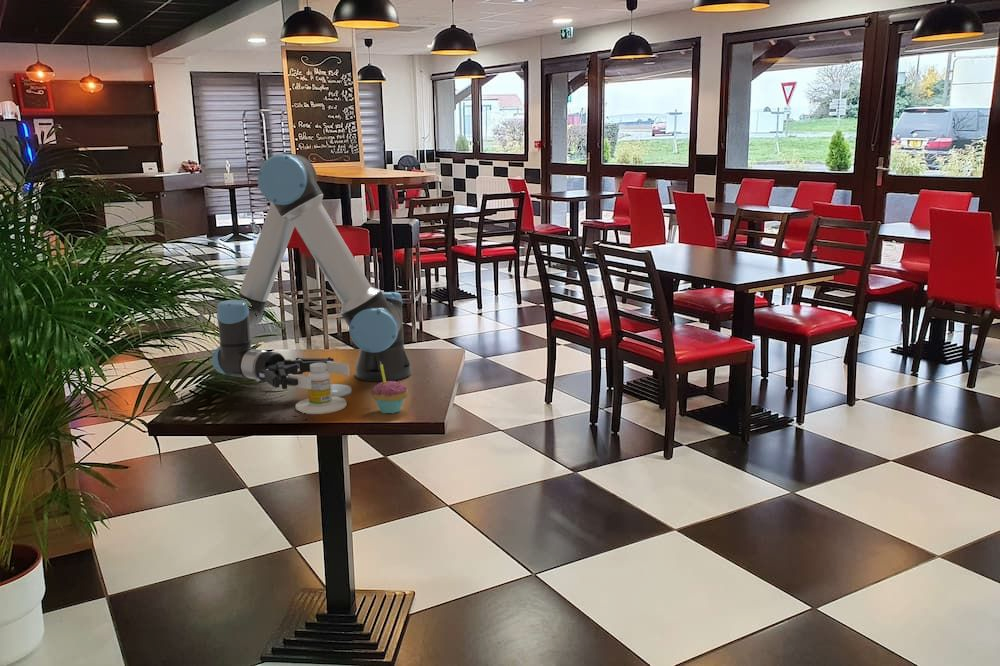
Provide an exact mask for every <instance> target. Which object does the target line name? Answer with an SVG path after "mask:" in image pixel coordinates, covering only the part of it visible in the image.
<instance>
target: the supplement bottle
mask: <svg viewBox="0 0 1000 666" xmlns="http://www.w3.org/2000/svg"><path fill="white" fill-rule="evenodd" d="M326 370H327V364H326V363H322V362H320V363H313V364H310V371H311V372H310V373H309V372H308V375H307V377H311V388H312V389H307V391H308V398H309V403H310V405H312V406H325V405H329V404H330V403H331V402H332V393H331V384H332V381H331V379H332V378H331V373H330V372H327V371H326Z"/></svg>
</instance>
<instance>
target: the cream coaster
mask: <svg viewBox="0 0 1000 666" xmlns="http://www.w3.org/2000/svg"><path fill="white" fill-rule="evenodd" d="M346 407H347V400H346V399H345V398H343V397H335V396H332V402H331V403H330V404H329V405H325V406H312V405H310V403H309V397H308V398H305V399H302V400H300V401H298V402H297V403H295V411H297V410H298V411H300V412H302V413H301V414H304V413H306V414H305V415H324V414H331V413H332V414H333V413H335V412H338V411H342V410H343V409H345V408H346ZM298 411H297V412H298ZM300 412H299V413H300Z"/></svg>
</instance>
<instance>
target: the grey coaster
mask: <svg viewBox="0 0 1000 666" xmlns="http://www.w3.org/2000/svg"><path fill="white" fill-rule="evenodd" d="M331 393H332V396H335V397H340V398H343V397H346V396H349V395H350V394H351V393H352V387H351V386H349V385H347V384H339V383H337V384H336V383H333V384H332V383H331Z"/></svg>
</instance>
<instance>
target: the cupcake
mask: <svg viewBox="0 0 1000 666" xmlns="http://www.w3.org/2000/svg"><path fill="white" fill-rule="evenodd" d="M380 364H381V362H380ZM380 368H381V373H382V378H383V381H380V382H378V383H377V384H375V385H374V386H373V388H371V391H370V394H371V397H372V398H373V399H374V400H375V401H376V403H377V406H378V408H379V411H380V412H381V413H382V414H386V413H392V414H396V412H397V413H399V412H400V411H402V410H401V408H402V405H403V402H404V399H406V398H407V397H408V395H409V390H408V387H407V385H405V384H404V383H402V382H400V381H398V380H392V381H386V378H385V374H384V369H383V364H381V365H380Z"/></svg>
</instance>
